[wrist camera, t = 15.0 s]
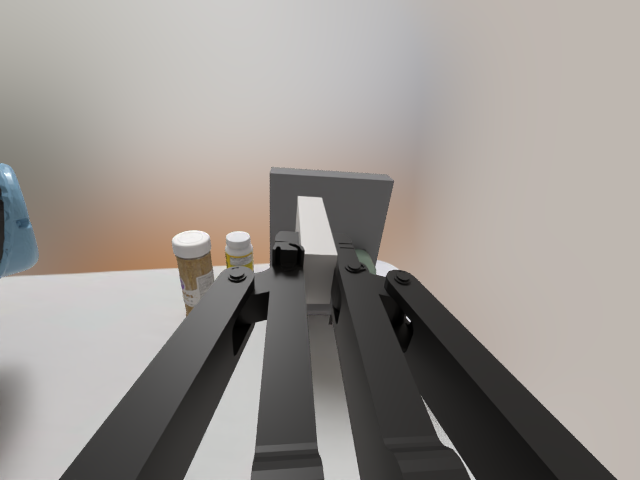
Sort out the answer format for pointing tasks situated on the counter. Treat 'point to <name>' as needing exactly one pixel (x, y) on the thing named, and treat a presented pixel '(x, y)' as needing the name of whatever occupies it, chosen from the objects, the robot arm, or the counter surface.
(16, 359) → the counter surface
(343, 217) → the button panel
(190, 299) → the spice jar
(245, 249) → the supplement bottle
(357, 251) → the sage button
